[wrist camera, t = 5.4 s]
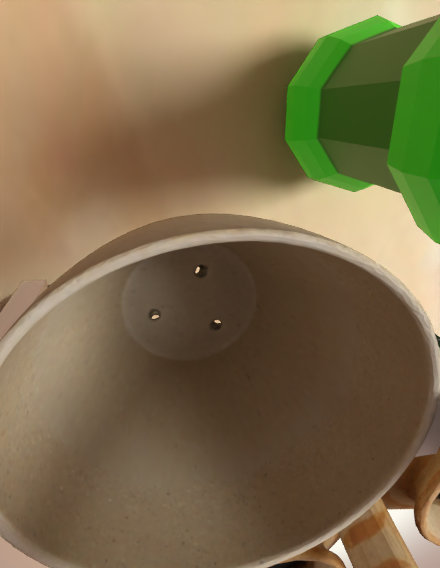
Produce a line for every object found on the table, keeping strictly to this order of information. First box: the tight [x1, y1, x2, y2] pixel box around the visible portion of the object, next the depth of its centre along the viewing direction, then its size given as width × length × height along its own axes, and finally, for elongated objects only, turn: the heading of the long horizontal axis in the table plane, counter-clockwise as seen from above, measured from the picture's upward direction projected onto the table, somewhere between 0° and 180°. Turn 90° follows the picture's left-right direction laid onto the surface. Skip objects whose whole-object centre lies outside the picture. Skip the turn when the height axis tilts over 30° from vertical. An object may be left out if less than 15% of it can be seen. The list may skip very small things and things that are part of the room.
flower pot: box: [0, 214, 440, 568], centre depth 11 cm, size 10×10×7 cm
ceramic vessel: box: [267, 447, 440, 568], centre depth 30 cm, size 34×18×25 cm, turn 119°
